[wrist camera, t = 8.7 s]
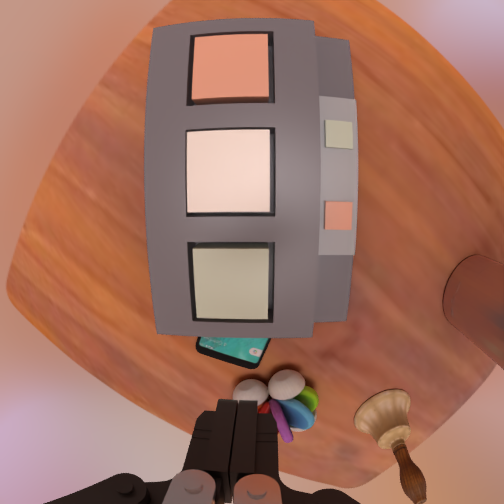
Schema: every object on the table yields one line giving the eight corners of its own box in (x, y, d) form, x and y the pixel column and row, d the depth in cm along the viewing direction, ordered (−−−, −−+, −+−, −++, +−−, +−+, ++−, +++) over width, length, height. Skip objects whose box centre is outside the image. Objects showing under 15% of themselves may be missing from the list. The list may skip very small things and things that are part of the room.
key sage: (267, 242, 25) (268, 249, 23) (266, 307, 27) (267, 319, 24) (198, 242, 25) (192, 248, 23) (202, 306, 27) (197, 317, 24)
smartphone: (312, 242, 27) (256, 371, 30) (310, 241, 27) (256, 367, 31) (238, 216, 26) (193, 351, 30) (239, 215, 27) (194, 348, 30)
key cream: (268, 135, 22) (269, 129, 20) (268, 209, 23) (269, 211, 21) (194, 137, 22) (187, 132, 20) (194, 209, 24) (187, 212, 21)
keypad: (346, 44, 22) (357, 27, 19) (343, 316, 29) (354, 335, 25) (165, 45, 23) (153, 28, 19) (168, 315, 29) (156, 333, 25)
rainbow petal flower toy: (222, 379, 31) (214, 423, 24) (306, 356, 30) (316, 399, 23) (248, 426, 33) (245, 468, 26) (322, 407, 32) (332, 449, 25)
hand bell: (386, 434, 33) (420, 516, 17) (342, 427, 32) (369, 523, 17) (420, 393, 31) (472, 474, 16) (377, 383, 31) (426, 481, 15)
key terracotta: (267, 46, 21) (267, 34, 19) (267, 104, 23) (268, 96, 20) (200, 49, 21) (195, 37, 19) (197, 106, 23) (191, 99, 20)
